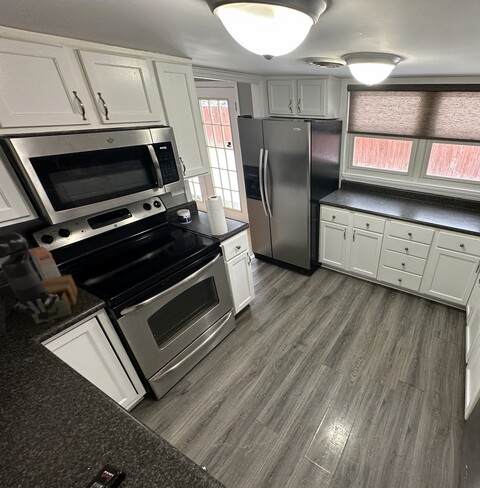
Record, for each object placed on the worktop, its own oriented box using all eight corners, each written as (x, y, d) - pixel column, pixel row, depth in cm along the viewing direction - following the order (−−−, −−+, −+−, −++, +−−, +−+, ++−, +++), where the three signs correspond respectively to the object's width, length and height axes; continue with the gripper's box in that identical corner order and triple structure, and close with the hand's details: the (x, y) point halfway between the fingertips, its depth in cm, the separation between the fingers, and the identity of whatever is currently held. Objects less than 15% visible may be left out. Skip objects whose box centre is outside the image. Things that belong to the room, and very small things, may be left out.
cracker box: (67, 287, 139) (51, 252, 130) (52, 293, 135) (34, 257, 126) (59, 279, 146) (43, 245, 137) (44, 283, 142) (26, 249, 133)
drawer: (70, 319, 117) (63, 305, 114) (34, 330, 111) (26, 316, 107) (73, 298, 130) (67, 285, 127) (41, 307, 124) (34, 293, 120)
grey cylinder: (47, 314, 118) (42, 305, 115) (49, 308, 121) (44, 299, 119) (63, 310, 121) (58, 300, 118) (64, 304, 124) (59, 295, 122)
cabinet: (75, 304, 128) (67, 287, 124) (39, 314, 121) (29, 297, 117) (77, 289, 138) (70, 274, 134) (44, 298, 131) (35, 282, 127)
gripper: (51, 274, 107) (68, 307, 115) (3, 284, 100) (25, 320, 107) (48, 282, 102) (66, 317, 109) (-2, 294, 95) (20, 330, 102)
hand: (45, 318), depth 108 cm, fingers closed
